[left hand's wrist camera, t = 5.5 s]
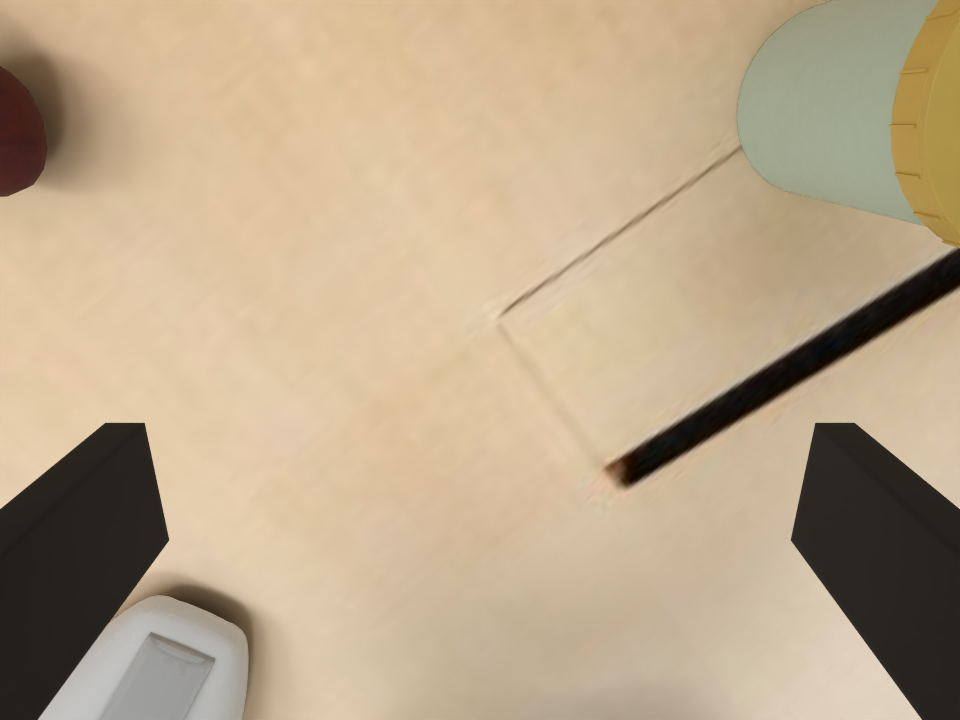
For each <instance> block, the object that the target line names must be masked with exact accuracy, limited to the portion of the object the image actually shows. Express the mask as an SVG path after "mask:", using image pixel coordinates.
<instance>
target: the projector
mask: <svg viewBox="0 0 960 720" xmlns="http://www.w3.org/2000/svg"><path fill="white" fill-rule="evenodd" d="M248 662H249V657H248V643H247V639H246V636H245V634H244V633H243V631H242V630H241V629H240V628H239V627H238V626H236V625H235V624H233V623H230V622H228V621H226V620H224V619H222V618H220V617H218V616H216V615H214V614H212V613H210V612H208V611H205V610H203V609H201V608H198V607H196V606H193V605H191V604H188V603H185V602H182V601H179V600H176V599H174V598H172V597H169V596H164V595H156V596H151V597H148V598H146V599H144V600H142V601H140V602H138V603H137V604H135V605H133V606H132V607H130V608H129V609H127V610H126V611H124V612H123V613H122V614H120V615H119V616H117V617H116V618H115V619H113V620H112V621H111V622H110V623H108V625H107V626H106V627H105V629H104V630H103V631H102V633H101V634H100V635H99V637H98V638H97V640H96V641H95V642H94V644H93V645H92V646H91V648H90V649H89V651H88V652H87V653H86V655H85V656H84V657H83V659H82V660H81V661H80V663H79V664H78V666H77V667H76V668H75V670H74V671H73V672H72V674H71V675H70V676H69V678H68V679H67V681H66V682H65V683H64V685H63V686H62V687H61V689H60V690H59V692H58V693H57V694H56V696H55V697H54V698H53V700H52V701H51V702H50V704H49V705H48V707H47V708H46V709H45V711H44V712H43V713H42V715H41V716H40V717H39V719H38V720H242V718H243V712H244V707H245V699H246V692H247V682H248Z"/></svg>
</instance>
